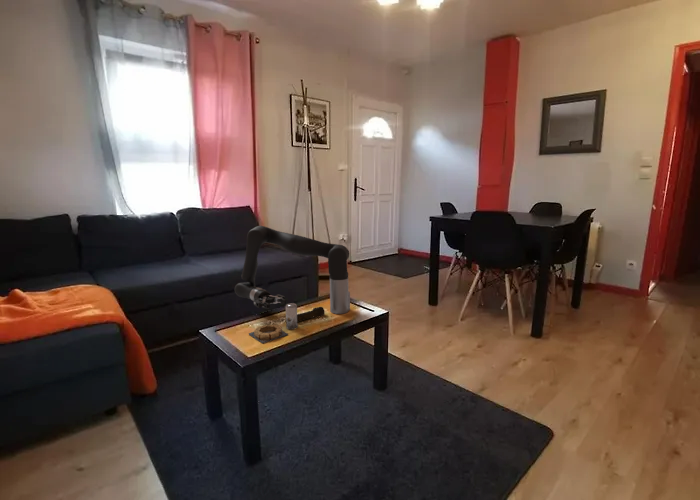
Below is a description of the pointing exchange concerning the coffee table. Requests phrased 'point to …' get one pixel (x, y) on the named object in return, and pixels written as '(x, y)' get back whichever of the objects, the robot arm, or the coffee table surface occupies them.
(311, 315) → the hand tool
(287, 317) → the cylinder
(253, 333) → the ring plate
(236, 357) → the coffee table surface
